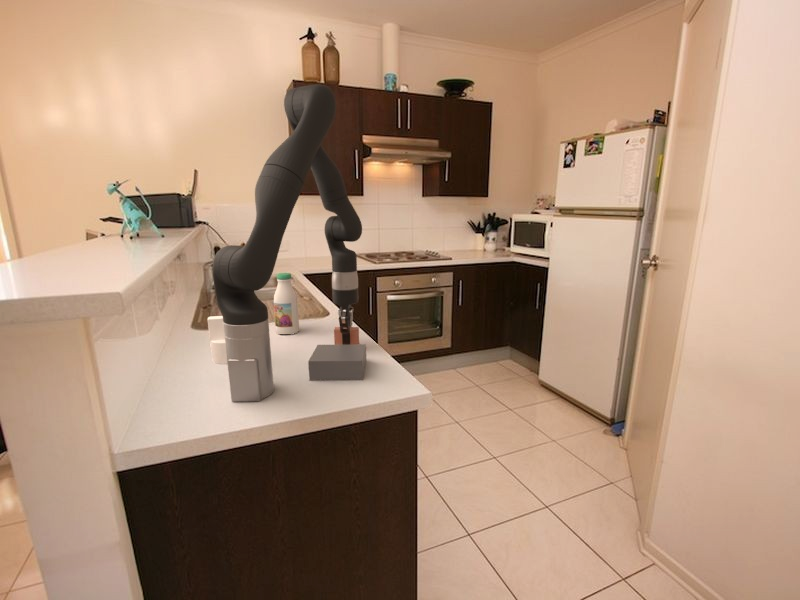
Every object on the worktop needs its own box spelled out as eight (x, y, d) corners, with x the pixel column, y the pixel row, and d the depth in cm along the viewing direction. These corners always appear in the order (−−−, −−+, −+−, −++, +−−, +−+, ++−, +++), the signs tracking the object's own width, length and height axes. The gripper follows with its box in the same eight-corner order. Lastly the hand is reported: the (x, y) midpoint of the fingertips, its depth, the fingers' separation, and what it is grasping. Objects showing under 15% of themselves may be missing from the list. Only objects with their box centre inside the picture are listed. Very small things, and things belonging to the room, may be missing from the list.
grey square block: (362, 380, 99) (362, 360, 98) (309, 380, 99) (308, 361, 98) (366, 360, 111) (366, 343, 110) (319, 361, 111) (318, 343, 110)
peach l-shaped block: (354, 373, 103) (353, 350, 101) (322, 373, 102) (321, 351, 101) (360, 346, 123) (360, 327, 121) (334, 346, 122) (333, 327, 121)
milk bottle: (288, 327, 142) (284, 271, 138) (304, 330, 138) (300, 272, 134) (270, 333, 136) (266, 274, 131) (287, 337, 132) (283, 276, 128)
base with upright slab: (209, 365, 108) (204, 322, 106) (214, 354, 117) (210, 314, 114) (245, 362, 111) (241, 319, 108) (247, 351, 119) (244, 311, 116)
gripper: (355, 291, 110) (357, 351, 114) (360, 282, 124) (361, 336, 128) (328, 291, 110) (330, 351, 114) (335, 282, 124) (337, 336, 128)
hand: (347, 343), depth 121 cm, fingers closed on peach l-shaped block, 2 cm apart
